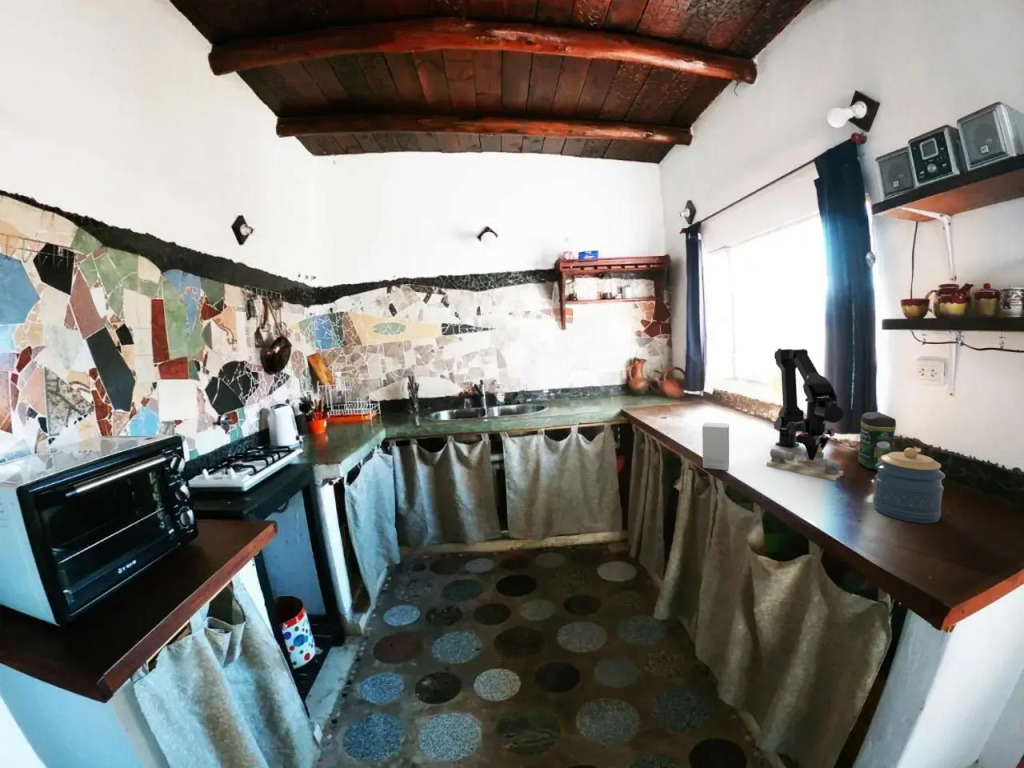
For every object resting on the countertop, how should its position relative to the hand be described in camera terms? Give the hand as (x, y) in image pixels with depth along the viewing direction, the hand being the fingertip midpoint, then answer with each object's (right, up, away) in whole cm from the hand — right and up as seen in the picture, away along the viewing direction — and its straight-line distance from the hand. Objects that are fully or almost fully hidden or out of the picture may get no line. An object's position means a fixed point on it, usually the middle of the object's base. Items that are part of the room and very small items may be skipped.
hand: (813, 458), depth 149 cm
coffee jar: (+15, -2, -7) cm, 17 cm away
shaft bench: (-9, -3, -7) cm, 12 cm away
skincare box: (-36, -3, -1) cm, 36 cm away
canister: (-5, -7, -40) cm, 41 cm away
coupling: (0, -1, 0) cm, 1 cm away
